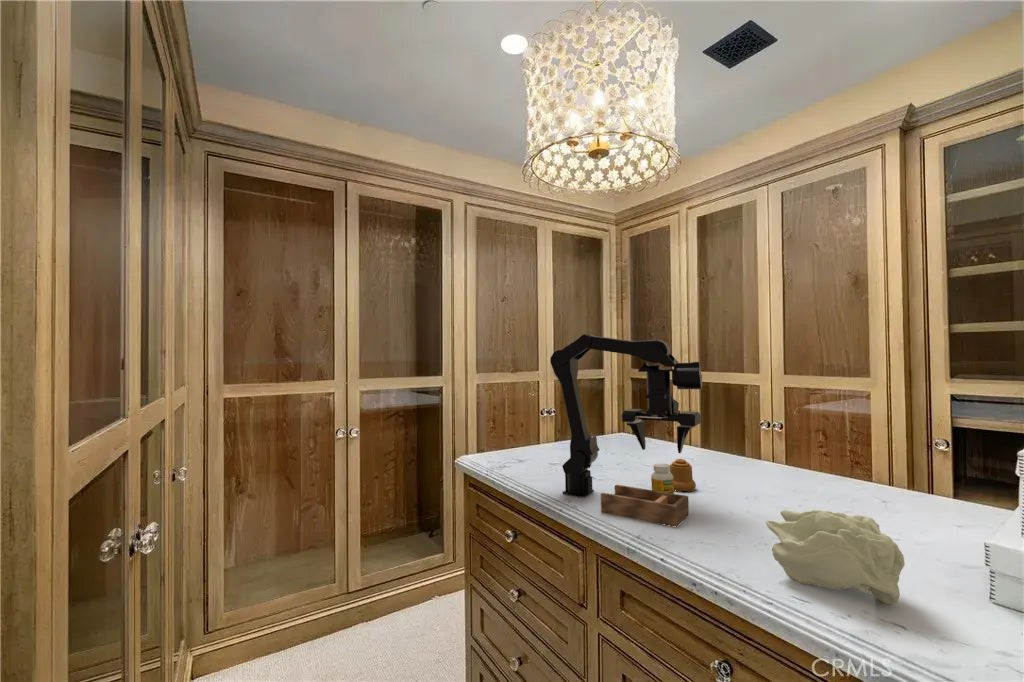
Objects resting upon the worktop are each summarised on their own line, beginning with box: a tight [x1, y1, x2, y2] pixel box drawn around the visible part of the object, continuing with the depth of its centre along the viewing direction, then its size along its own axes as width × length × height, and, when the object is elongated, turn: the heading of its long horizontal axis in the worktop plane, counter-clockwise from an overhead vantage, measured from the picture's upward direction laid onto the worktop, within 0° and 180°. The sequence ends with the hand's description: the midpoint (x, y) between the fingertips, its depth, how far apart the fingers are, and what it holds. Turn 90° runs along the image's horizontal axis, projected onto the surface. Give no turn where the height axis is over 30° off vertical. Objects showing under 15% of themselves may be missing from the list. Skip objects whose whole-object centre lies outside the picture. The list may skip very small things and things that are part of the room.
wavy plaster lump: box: [765, 509, 906, 605], centre depth 77 cm, size 18×13×16 cm
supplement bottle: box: [650, 463, 675, 494], centre depth 121 cm, size 5×5×10 cm
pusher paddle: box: [655, 495, 668, 504], centre depth 111 cm, size 1×6×3 cm, turn 144°
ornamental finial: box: [669, 458, 697, 492], centre depth 133 cm, size 8×8×8 cm
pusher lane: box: [600, 484, 690, 528], centre depth 113 cm, size 18×9×4 cm, turn 53°
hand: (661, 451), depth 121 cm, fingers open, 9 cm apart
